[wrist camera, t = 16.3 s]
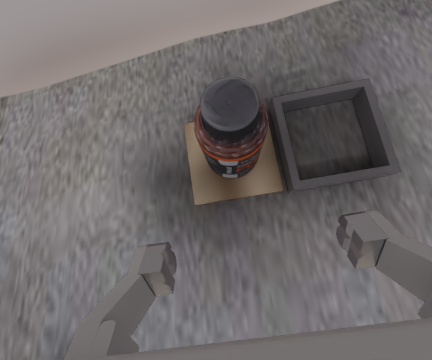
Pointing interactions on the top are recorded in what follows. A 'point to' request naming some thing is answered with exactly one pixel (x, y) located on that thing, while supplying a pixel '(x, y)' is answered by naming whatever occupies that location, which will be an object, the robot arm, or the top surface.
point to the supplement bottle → (231, 126)
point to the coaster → (231, 188)
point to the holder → (369, 123)
